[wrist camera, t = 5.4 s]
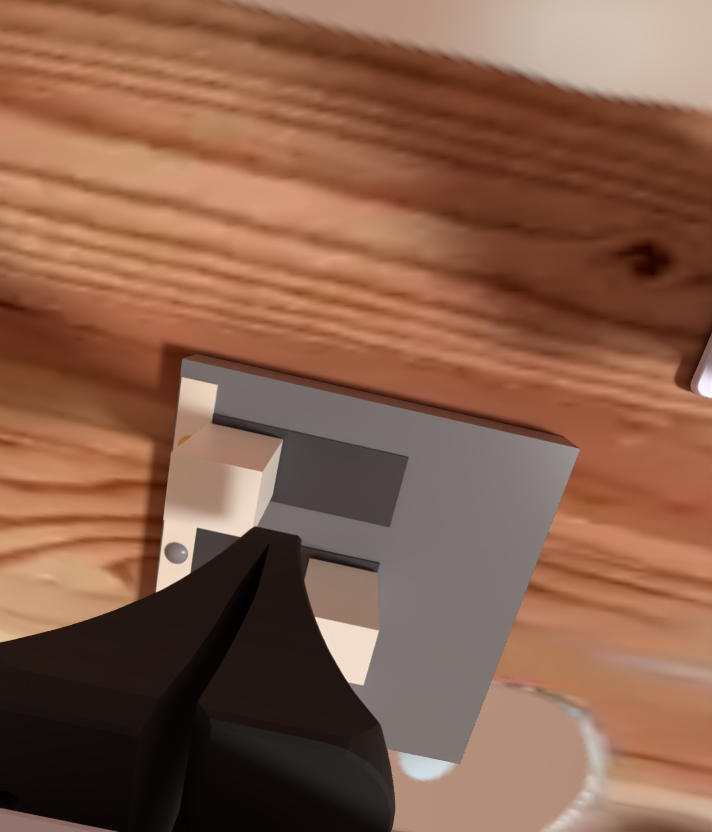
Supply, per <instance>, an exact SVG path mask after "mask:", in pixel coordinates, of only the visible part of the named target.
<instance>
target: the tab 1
mask: <svg viewBox="0 0 712 832" xmlns="http://www.w3.org/2000/svg"><path fill="white" fill-rule="evenodd" d="M282 442H283V439H279V438H274V437H270V436H265V435H261V434H256V433H252V432H247V431H243V430H239V429H234V428H230V427H225V426H221V425H216V424H212V423H208V424H207V425H206V426H204V427H203V428H202V429H200V430H199V431H198V432H196V433H195V434H194V435H193V436H191V437H190V438H189V439H187V440H186V441H185V442H183V443H182V444H181V445H179V446H178V447H177V448H176V449H174V450H173V451H172V452H171V458H170V466H169V475H168V483H167V491H166V500H165V508H164V517H163V520H165V521H169V522H174V523H178V524H183V525H188V526H192V527H197V528H201V529H206V530H211V531H215V532H220V533H224V534H229V535H234V536H238V537H241V536H242V535H244V534H245V533H246V532H247V531H248V530H250V529H251V528H253V527H254V526H257V525H258V523H259V521H260V519H261V517H262V515H263V513H264V511H265V509H266V507H267V505H268V503H269V501H270V499H271V497H272V495H273V490H274V485H275V479H276V474H277V469H278V464H279V458H280V453H281V448H282Z"/></svg>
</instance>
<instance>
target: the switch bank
mask: <svg viewBox="0 0 712 832" xmlns="http://www.w3.org/2000/svg"><path fill="white" fill-rule="evenodd" d="M208 423H212V424H216V425H221V426H225V427H230V428H234V429H239V430H243V431H247V432H252V433H256V434H261V435H265V436H270V437H274V438H279V439H283V442H282V448H281V453H280V458H279V464H278V469H277V474H276V479H275V485H274V490H273V495H272V497H271V499H270V501H269V503H268V505H267V507H266V509H265V511H264V513H263V515H262V517H261V519H260V521H259V523H258V525H257V527H262V528H266V529H271V530H275V531H280V532H284V533H289V534H293V535H298V536H299V537H300V538H301V540H302V542H301V564H302V571H303V576H304V580H305V576H306V571H307V567H308V563H309V559H310V558H311V559H316V560H321V561H325V562H330V563H334V564H339V565H344V566H348V567H353V568H357V569H362V570H367V571H371V572H376V573H378V602H379V633H378V636H377V640H376V643H375V647H374V650H373V654H372V657H371V661H370V664H369V668H368V671H367V675H366V678H365V682H364V685H359V684H354V683H352V689H353V691H354V692H355V694H356V695H357V696H358V697H359V699H360V700H361V701H362V702H363V703H364V705H365V706H366V707H367V708H368V710H369V711H370V712H371V713H372V714H373V716H374V717H375V718H376V719H377V721H378V722H379V723H380V725H381V727H382V731H383V735H384V739H385V743H386V747H387V749H390V750H395V751H399V752H404V753H409V754H414V755H419V756H423V757H428V758H433V759H438V760H443V761H448V762H452V763H457V764H460V762H461V760H462V757H463V755H464V751H465V749H466V747H467V744H468V741H469V739H470V736H471V734H472V731H473V728H474V726H475V723H476V720H477V718H478V715H479V713H480V710H481V707H482V704H483V702H484V699H485V697H486V694H487V691H488V689H489V686H490V684H491V681H492V678H493V676H494V673H495V671H496V668H497V665H498V663H499V660H500V657H501V655H502V652H503V650H504V647H505V644H506V642H507V639H508V636H509V634H510V631H511V629H512V626H513V623H514V621H515V618H516V615H517V613H518V610H519V608H520V605H521V602H522V600H523V597H524V594H525V592H526V589H527V587H528V584H529V581H530V579H531V576H532V573H533V571H534V568H535V566H536V563H537V560H538V558H539V555H540V553H541V550H542V547H543V545H544V542H545V539H546V537H547V534H548V532H549V529H550V526H551V524H552V521H553V518H554V516H555V513H556V511H557V508H558V505H559V503H560V500H561V497H562V495H563V492H564V490H565V487H566V484H567V482H568V479H569V476H570V474H571V471H572V469H573V466H574V463H575V461H576V458H577V455H578V453H579V450H580V448H578V447H577V446H576V445H574V444H573V443H571V442H570V441H569V440H567V439H566V438H565V437H561V436H557V435H552V434H548V433H543V432H539V431H535V430H530V429H526V428H521V427H517V426H513V425H508V424H504V423H499V422H495V421H491V420H486V419H482V418H477V417H473V416H469V415H464V414H460V413H455V412H451V411H447V410H442V409H438V408H433V407H429V406H425V405H420V404H416V403H411V402H407V401H403V400H398V399H394V398H389V397H385V396H381V395H376V394H372V393H367V392H363V391H359V390H354V389H350V388H345V387H341V386H337V385H332V384H328V383H323V382H319V381H315V380H310V379H306V378H301V377H297V376H293V375H288V374H284V373H279V372H275V371H271V370H266V369H262V368H257V367H253V366H249V365H244V364H240V363H235V362H231V361H227V360H222V359H218V358H213V357H209V356H205V355H200V354H195V355H192V356H189V357H186V358H183V359H182V366H181V374H180V383H179V391H178V399H177V408H176V416H175V425H174V433H173V441H172V450H171V452H172V451H173V450H174V449H176V448H177V447H178V446H179V445H181V444H182V443H183V442H185V441H186V440H187V439H189V438H190V437H191V436H193V435H194V434H195V433H196V432H198V431H199V430H200V429H202V428H203V427H204V426H206V425H207V424H208ZM239 538H240V537H238V536H234V535H229V534H224V533H220V532H215V531H211V530H206V529H201V528H197V527H192V526H188V525H183V524H178V523H174V522H169V521H165V520H163V525H162V534H161V542H160V551H159V559H158V567H157V576H156V584H155V593H156V592H158V591H160V590H162V589H164V588H166V587H168V586H169V585H171V584H173V583H175V582H177V581H178V580H180V579H182V578H183V577H185V576H187V575H188V574H190V573H191V572H193V571H194V570H196V569H198V568H199V567H201V566H202V565H204V564H205V563H207V562H208V561H210V560H211V559H212V558H214V557H215V556H217V555H218V554H219V553H221V552H222V551H223V550H225V549H226V548H227V547H229V546H230V545H231V544H233V543H234V542H235V541H236V540H238V539H239Z"/></svg>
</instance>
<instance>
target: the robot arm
mask: <svg viewBox="0 0 712 832" xmlns="http://www.w3.org/2000/svg"><path fill="white" fill-rule="evenodd" d="M690 386H691V390H692V391H693V392H694V393H695V394H697V395H700V396H703V397H707V398H712V334H711V337H710V339H709V341H708V344H707V346H706V348H705V351H704V353H703V355H702V357H701V360H700V362H699V364H698V367H697V369H696V371H695V374H694V376H693V378H692V381H691V385H690ZM301 542H302V540H301V538H300V537H299V536H298V535H293V534H289V533H284V532H280V531H275V530H271V529H266V528H262V527H257V526H254V527H253V528H251V529H250V530H248V531H247V532H246V533H245V534H244V535H242V536H241V537H240V538H239V539H238V540H236V541H235V542H234V543H233V544H231V545H230V546H229V547H227V548H226V549H225V550H223V551H222V552H221V553H219V554H218V555H217V556H215V557H214V558H212V559H211V560H210V561H208V562H207V563H205V564H204V565H202V566H201V567H199V568H198V569H196V570H194V571H193V572H191V573H190V574H188V575H187V576H185V577H183V578H182V579H180V580H178V581H177V582H175V583H173V584H171V585H169V586H168V587H166V588H164V589H162V590H160V591H158V592H156V593H154V594H152V595H150V596H148V597H145V598H143V599H140V600H138V601H136V602H133V603H131V604H128V605H126V606H124V607H121V608H119V609H116V610H114V611H111V612H109V613H106V614H103V615H100V616H97V617H94V618H91V619H89V620H85V621H82V622H79V623H76V624H72V625H69V626H66V627H62V628H59V629H55V630H51V631H47V632H43V633H39V634H35V635H31V636H27V637H23V638H18V639H14V640H10V641H5V642H1V643H0V832H391V830H392V827H393V821H394V815H395V795H394V786H393V779H392V773H391V766H390V761H389V757H388V751H387V747H386V743H385V739H384V735H383V731H382V727H381V725H380V723H379V722H378V721H377V719H376V718H375V717H374V716H373V714H372V713H371V712H370V711H369V710H368V708H367V707H366V706H365V705H364V703H363V702H362V701H361V700H360V699H359V697H358V696H357V695H356V694H355V692H354V691H353V689H352V688H351V686H350V685H349V683H348V682H347V680H346V679H345V677H344V675H343V674H342V672H341V670H340V668H339V667H338V665H337V663H336V661H335V660H334V658H333V656H332V654H331V653H330V651H329V649H328V647H327V645H326V642H325V640H324V638H323V636H322V634H321V631H320V629H319V627H318V624H317V622H316V619H315V616H314V613H313V610H312V608H311V604H310V601H309V597H308V594H307V590H306V586H305V581H304V576H303V571H302V564H301Z"/></svg>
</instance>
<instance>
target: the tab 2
mask: <svg viewBox="0 0 712 832" xmlns="http://www.w3.org/2000/svg"><path fill="white" fill-rule="evenodd" d="M304 581H305V586H306V590H307V594H308V597H309V601H310V604H311V608H312V610H313V613H314V616H315V619H316V622H317V624H318V627H319V629H320V631H321V634H322V636H323V638H324V640H325V642H326V645H327V647H328V649H329V651H330V653H331V654H332V656H333V658H334V660H335V661H336V663H337V665H338V667H339V668H340V670H341V672H342V674H343V675H344V677H345V679H346V680H347V682H349V683H354V684H359V685H364V682H365V678H366V675H367V671H368V668H369V664H370V661H371V657H372V654H373V650H374V647H375V643H376V640H377V636H378V633H379V602H378V573H376V572H371V571H367V570H362V569H357V568H353V567H348V566H344V565H339V564H334V563H330V562H325V561H321V560H316V559H311V558H310V559H309V563H308V567H307V571H306V576H305V580H304Z"/></svg>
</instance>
